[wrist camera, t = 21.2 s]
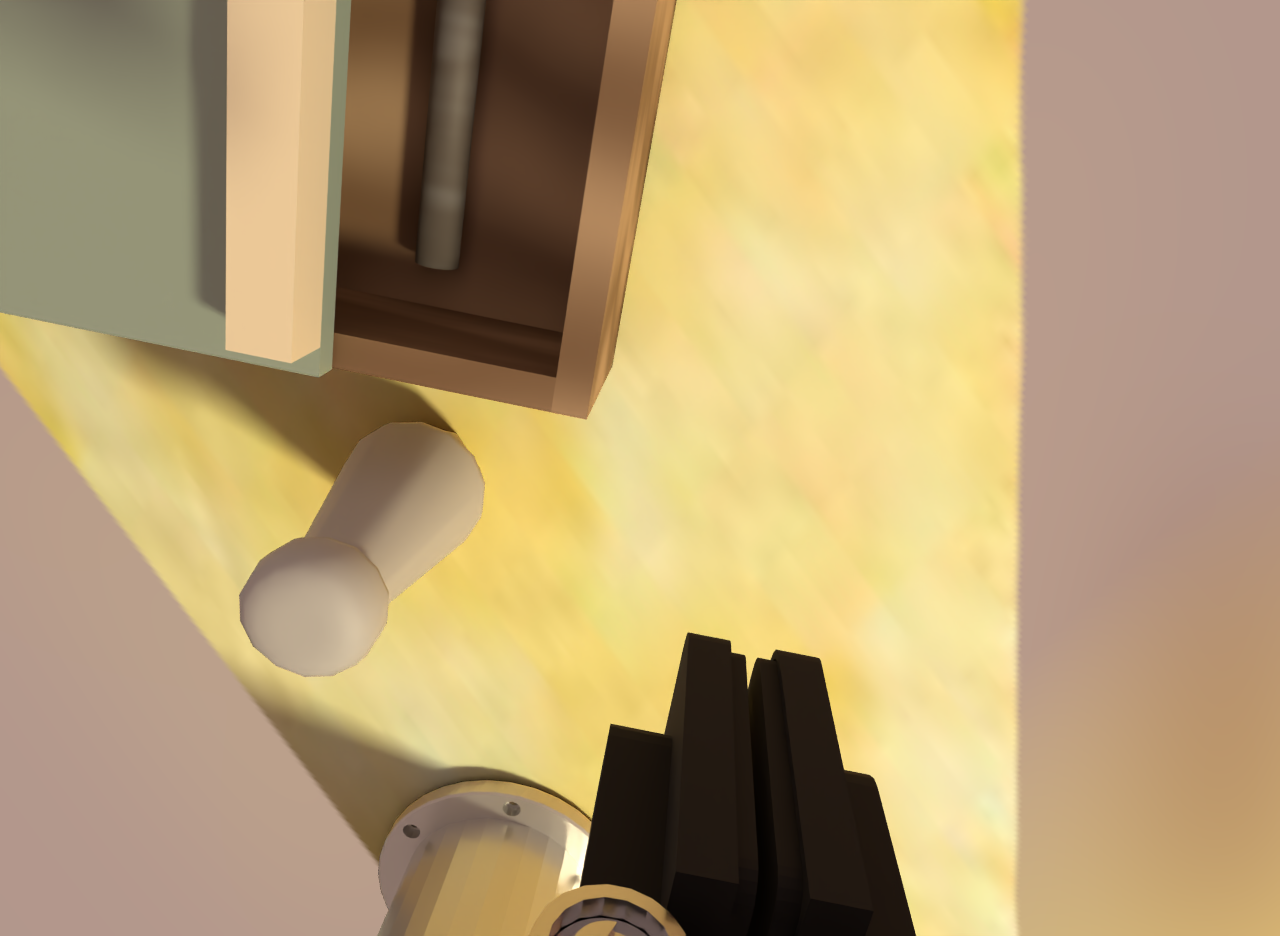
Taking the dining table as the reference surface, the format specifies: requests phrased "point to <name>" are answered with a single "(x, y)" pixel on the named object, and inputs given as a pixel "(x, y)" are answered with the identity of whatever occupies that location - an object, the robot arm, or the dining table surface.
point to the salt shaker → (363, 548)
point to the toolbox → (494, 191)
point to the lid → (176, 172)
